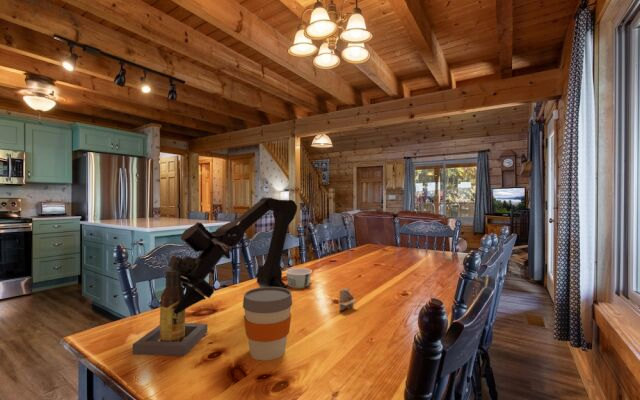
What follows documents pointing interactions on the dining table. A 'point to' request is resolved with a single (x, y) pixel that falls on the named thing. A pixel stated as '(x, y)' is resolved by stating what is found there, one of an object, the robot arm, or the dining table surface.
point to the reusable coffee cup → (267, 321)
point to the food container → (298, 277)
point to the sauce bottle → (172, 308)
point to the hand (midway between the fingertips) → (167, 308)
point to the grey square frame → (155, 347)
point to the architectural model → (346, 299)
